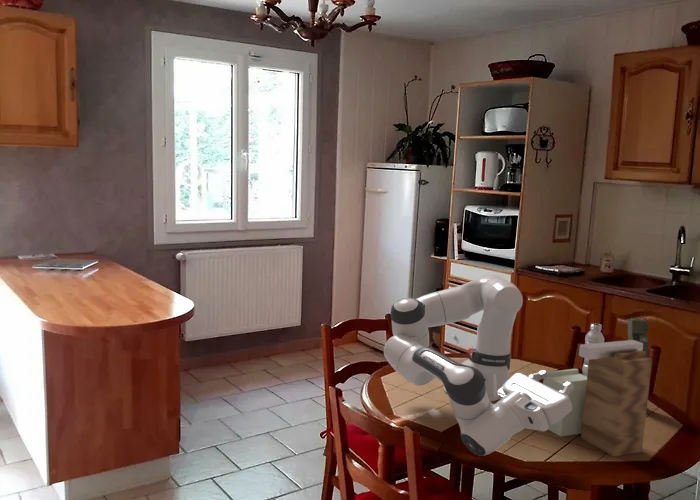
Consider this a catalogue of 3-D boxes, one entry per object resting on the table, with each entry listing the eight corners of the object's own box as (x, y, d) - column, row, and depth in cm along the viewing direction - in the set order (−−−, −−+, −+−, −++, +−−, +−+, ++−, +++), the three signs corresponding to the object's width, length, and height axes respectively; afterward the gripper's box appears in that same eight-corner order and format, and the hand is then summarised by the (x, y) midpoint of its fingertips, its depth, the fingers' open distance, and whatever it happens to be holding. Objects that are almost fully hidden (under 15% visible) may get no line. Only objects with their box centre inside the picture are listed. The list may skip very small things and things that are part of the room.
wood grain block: (614, 456, 166) (624, 357, 162) (581, 438, 177) (590, 344, 173) (641, 451, 170) (652, 354, 166) (607, 433, 181) (617, 342, 177)
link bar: (588, 359, 163) (589, 348, 163) (578, 355, 166) (579, 344, 166) (642, 354, 171) (643, 343, 170) (631, 350, 174) (632, 339, 173)
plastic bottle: (599, 381, 226) (604, 327, 224) (579, 377, 230) (584, 324, 227) (602, 377, 232) (607, 324, 229) (583, 373, 235) (588, 321, 233)
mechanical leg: (651, 416, 193) (655, 318, 196) (626, 413, 194) (630, 316, 198) (639, 410, 207) (643, 319, 210) (615, 407, 208) (620, 317, 211)
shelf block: (560, 436, 177) (565, 382, 175) (539, 424, 185) (544, 372, 183) (593, 431, 182) (598, 378, 180) (571, 419, 190) (576, 368, 188)
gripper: (498, 403, 169) (535, 374, 173) (549, 434, 150) (590, 401, 154) (489, 385, 167) (528, 356, 171) (541, 414, 148) (583, 381, 152)
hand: (558, 378), depth 162 cm, fingers open, 8 cm apart
